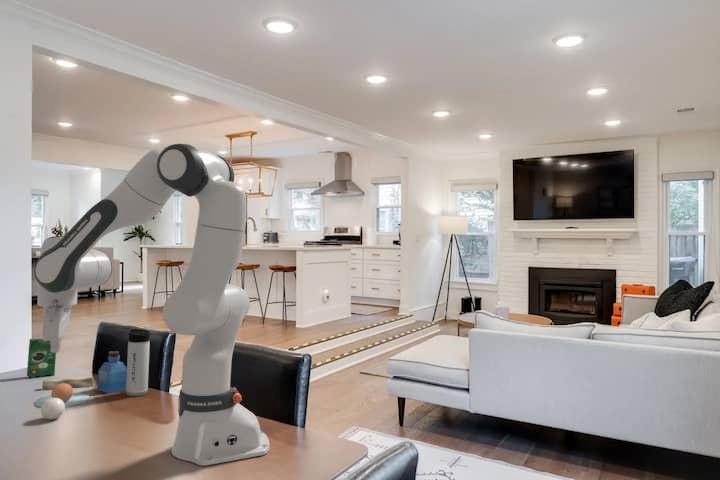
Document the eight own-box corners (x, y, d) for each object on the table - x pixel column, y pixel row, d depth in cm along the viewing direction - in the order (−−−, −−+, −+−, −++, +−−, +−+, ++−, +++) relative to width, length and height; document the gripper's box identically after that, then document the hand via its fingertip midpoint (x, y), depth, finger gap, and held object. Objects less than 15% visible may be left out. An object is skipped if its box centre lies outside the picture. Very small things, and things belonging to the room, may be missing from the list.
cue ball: (65, 402, 132) (66, 420, 133) (63, 392, 136) (64, 409, 137) (41, 407, 129) (42, 426, 130) (39, 396, 133) (40, 414, 134)
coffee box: (54, 373, 175) (55, 336, 175) (55, 375, 173) (57, 337, 173) (26, 376, 170) (28, 338, 170) (27, 378, 168) (29, 340, 168)
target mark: (93, 392, 157) (93, 391, 157) (84, 406, 143) (84, 405, 143) (42, 394, 152) (42, 393, 152) (28, 409, 139) (28, 408, 139)
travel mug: (140, 389, 162) (142, 327, 162) (151, 393, 158) (154, 330, 158) (121, 393, 157) (124, 329, 157) (132, 397, 153) (135, 332, 153)
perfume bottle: (127, 389, 161) (128, 352, 161) (108, 393, 156) (110, 355, 156) (115, 385, 165) (117, 349, 165) (97, 389, 160) (99, 352, 160)
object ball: (73, 383, 146) (72, 403, 145) (73, 381, 150) (72, 399, 150) (51, 385, 143) (50, 405, 142) (52, 382, 147) (50, 402, 147)
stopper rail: (92, 384, 164) (93, 377, 164) (92, 386, 163) (92, 378, 163) (43, 388, 158) (43, 380, 158) (42, 389, 157) (42, 381, 157)
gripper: (67, 303, 120) (64, 360, 120) (75, 293, 139) (73, 343, 139) (36, 303, 118) (33, 361, 118) (49, 293, 136) (47, 344, 136)
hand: (55, 351), depth 129 cm, fingers closed
